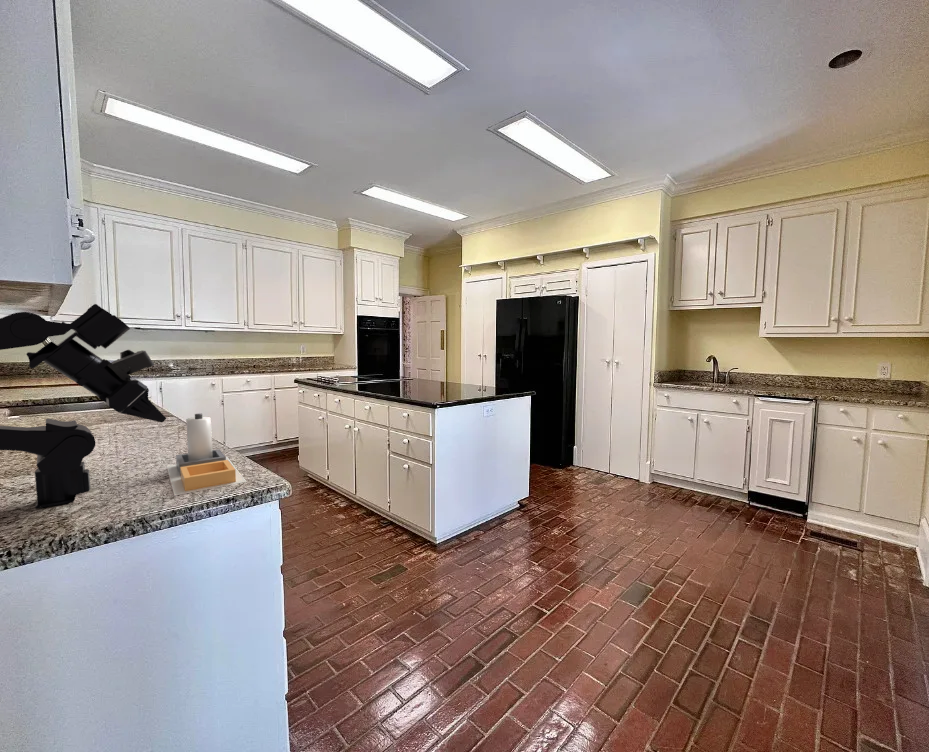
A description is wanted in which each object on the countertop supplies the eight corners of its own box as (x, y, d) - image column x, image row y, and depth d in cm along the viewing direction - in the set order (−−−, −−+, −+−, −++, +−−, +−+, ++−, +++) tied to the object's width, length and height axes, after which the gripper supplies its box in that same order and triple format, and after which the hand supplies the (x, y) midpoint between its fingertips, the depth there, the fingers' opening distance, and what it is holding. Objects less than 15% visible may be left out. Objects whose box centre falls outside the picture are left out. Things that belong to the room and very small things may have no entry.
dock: (174, 500, 76) (173, 482, 75) (166, 470, 93) (165, 455, 92) (247, 486, 83) (246, 469, 83) (227, 460, 100) (226, 446, 100)
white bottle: (189, 471, 89) (187, 416, 88) (187, 466, 92) (184, 413, 91) (214, 467, 92) (212, 414, 91) (211, 462, 95) (209, 411, 94)
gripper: (129, 336, 74) (202, 392, 83) (113, 336, 87) (178, 384, 96) (72, 383, 69) (156, 436, 78) (64, 375, 82) (138, 422, 91)
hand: (159, 417), depth 86 cm, fingers open, 9 cm apart
